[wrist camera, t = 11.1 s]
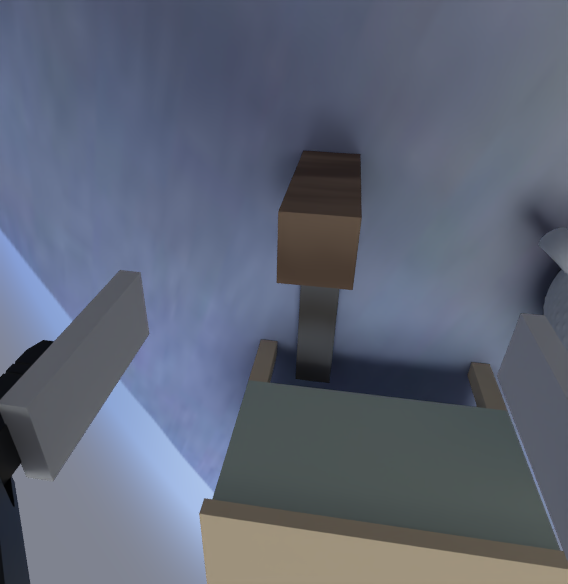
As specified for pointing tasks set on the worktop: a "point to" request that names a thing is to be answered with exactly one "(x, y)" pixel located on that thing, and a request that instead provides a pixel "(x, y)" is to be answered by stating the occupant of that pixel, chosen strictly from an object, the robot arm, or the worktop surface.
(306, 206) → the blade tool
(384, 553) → the cabinet
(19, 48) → the worktop surface
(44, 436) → the robot arm
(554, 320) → the mug
